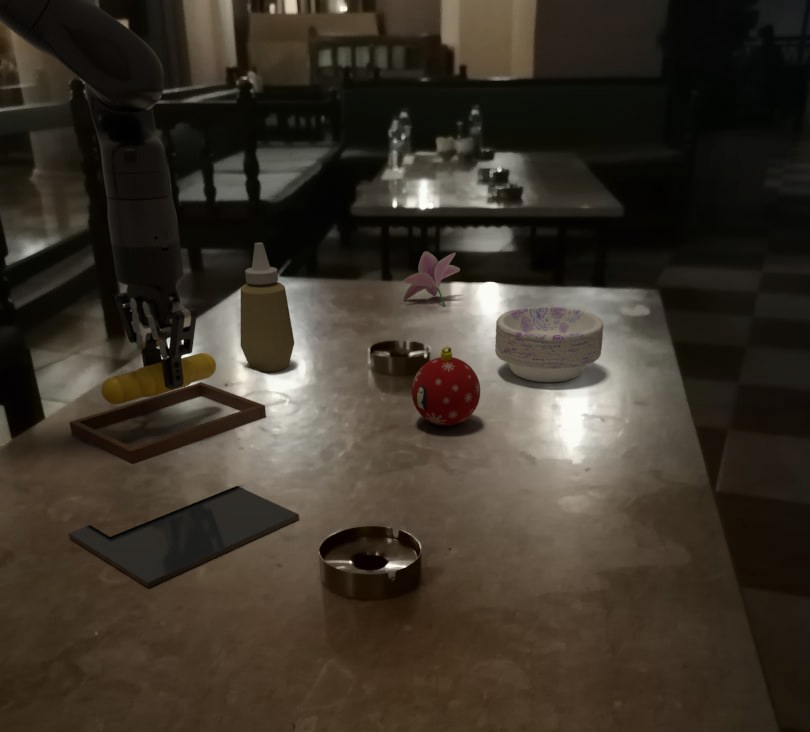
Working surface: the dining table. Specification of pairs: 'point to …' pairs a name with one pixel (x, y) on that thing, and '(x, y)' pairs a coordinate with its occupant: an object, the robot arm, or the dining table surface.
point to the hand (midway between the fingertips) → (164, 382)
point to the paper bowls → (548, 342)
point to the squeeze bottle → (265, 317)
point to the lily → (430, 275)
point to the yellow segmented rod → (155, 379)
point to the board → (186, 535)
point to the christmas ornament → (446, 390)
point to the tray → (246, 414)
